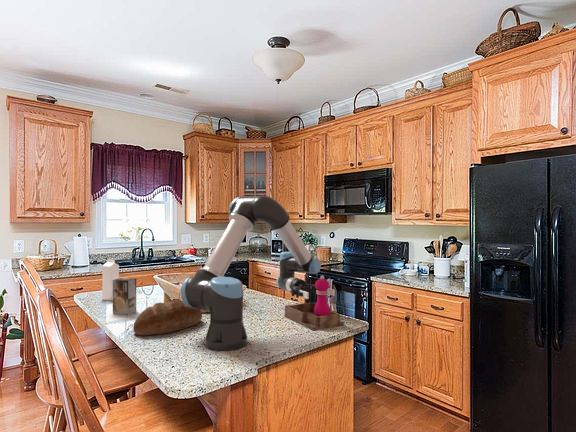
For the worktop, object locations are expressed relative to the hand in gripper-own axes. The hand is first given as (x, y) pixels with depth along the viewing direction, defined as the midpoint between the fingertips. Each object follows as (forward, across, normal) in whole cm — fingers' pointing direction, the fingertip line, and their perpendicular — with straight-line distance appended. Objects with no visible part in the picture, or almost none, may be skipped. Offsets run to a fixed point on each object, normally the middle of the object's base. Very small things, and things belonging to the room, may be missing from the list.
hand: (321, 294), depth 159 cm
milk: (-95, +77, -13) cm, 123 cm away
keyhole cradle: (-6, 0, -13) cm, 14 cm away
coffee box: (-60, +73, -13) cm, 95 cm away
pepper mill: (+1, 0, -12) cm, 12 cm away
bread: (-25, +59, -13) cm, 65 cm away
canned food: (-65, +50, -13) cm, 83 cm away
